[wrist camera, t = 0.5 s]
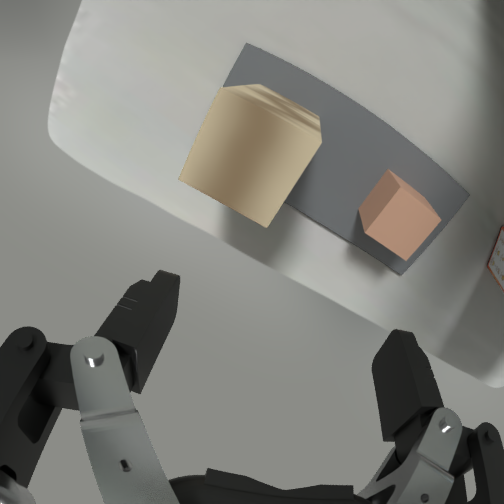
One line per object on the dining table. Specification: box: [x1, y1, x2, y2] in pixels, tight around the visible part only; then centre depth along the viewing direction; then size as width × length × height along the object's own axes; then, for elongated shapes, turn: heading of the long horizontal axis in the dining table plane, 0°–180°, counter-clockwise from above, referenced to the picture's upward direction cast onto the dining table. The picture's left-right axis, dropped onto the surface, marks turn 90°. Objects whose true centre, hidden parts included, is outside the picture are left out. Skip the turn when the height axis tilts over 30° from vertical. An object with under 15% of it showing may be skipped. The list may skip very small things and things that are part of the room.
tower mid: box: [178, 85, 322, 228], centre depth 19 cm, size 6×6×6 cm
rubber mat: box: [223, 43, 470, 275], centre depth 27 cm, size 26×12×1 cm, turn 63°
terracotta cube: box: [358, 169, 441, 261], centre depth 25 cm, size 5×5×5 cm
